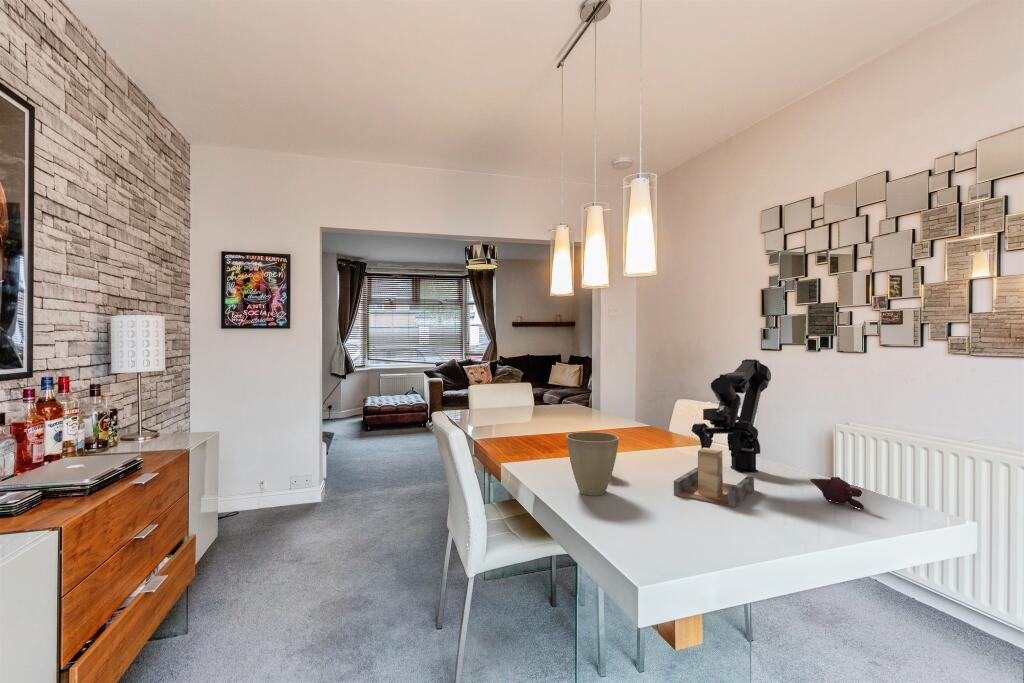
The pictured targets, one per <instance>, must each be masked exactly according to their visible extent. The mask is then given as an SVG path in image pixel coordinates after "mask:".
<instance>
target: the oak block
mask: <svg viewBox="0 0 1024 683" xmlns="http://www.w3.org/2000/svg"><path fill="white" fill-rule="evenodd" d="M697 467H698V494H702V495H707V496H712V497H718V496H720V495H721V494H722V493H723V483H724V482H723V481H724V480H723V479H724V478H723V475H724V474H723V449H718V448H711V447H710V448H701V449H698V450H697Z"/></svg>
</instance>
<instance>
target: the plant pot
mask: <svg viewBox="0 0 1024 683" xmlns="http://www.w3.org/2000/svg"><path fill="white" fill-rule="evenodd" d="M565 436H566V443H567V444H566V445H567V450H568V456H569V462H570V465H571V469H572V473H573V476H574V480H575V483H576V485H577V488H578V491H579V493H580V494H581V495H582V494H583V495H586V496H590V495H591V496H597V495H599V496H602V495H605V494H606V492H607V489H608V488H609V487H608V486H609V484H610V481H611V478H612V474H613V471H614V468H615V464H616V458H617V453H618V448H619V436H618V435H616V434H612V433H608V432H598V431H596V432H595V431H578V432H570V433H568V434H566V435H565Z"/></svg>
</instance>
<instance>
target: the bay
mask: <svg viewBox="0 0 1024 683" xmlns="http://www.w3.org/2000/svg"><path fill="white" fill-rule="evenodd" d="M753 490H754V491H755V476H754V475H749V474H747V476H745V477H744V478H743V479H742V480H741V481H739V482H738V483H737V484H732V483H727V482H723V493H722V494H721V495H720V496H718V497H712V496H707V495H702V494H698V466H697V467H695V468H693V469H692V470H690V471H688V472H686V473H685V474H683V475H681V476H679V477H677V478H676V479H675V480H673V496H677V497H681V498H686V499H690V500H697V501H701V502H704V503H705V502H706V503H710V504H715V505H719V506H725V507H730V508H734V509H735V508H736V507H737V506H739V504H741V503H742V502H743V501H744V500H745V499H747V497H748V496H749V495H750V494H752V492H754V491H753Z"/></svg>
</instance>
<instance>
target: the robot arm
mask: <svg viewBox="0 0 1024 683" xmlns="http://www.w3.org/2000/svg"><path fill="white" fill-rule="evenodd" d="M771 380H772V372H771V370H770V369H769V367H768V366H767V365H765V364H762V363H761V362H760V360H758V359H756V358H755V359H750V358H749V359H748V358H746V359H743V360H741V364H740V365H739V366H738V367H737V368H736V369H734V371H732V372H727V373H725V374H724V373H723V374H719V377H717V378H715V379H713V380H712V381H711V383H710V388H711V391H712V392H713V394H714V396H715V398H716V400H717V401H719V403H718V407H714V408H703V409H702V419H703V421H709V424H710V425H711V427H710V426H709V425H708V424H706V423H705V422H704V423H703V422H701V423H700V422H699V423H693V425H692V428H691V432H692V433H693V434H695V436H696V437H698V438H699V442H700V447H701V449H702V448H711V446H712V444H713V441H714V440H713V438H714V435H720V434H721V435H722V434H725V435H726V434H727V438H726V439H727V440H726V441H727V447H728V451H730V457H731V465H730V468H731V469H733V470H735V471H737V472H738V471H739V473H759V472H760V470H758V469H757V455H759V454H761V445H760V444H761V443H760V441H759V439H758V437H759V431H758V428H757V427H755V425H754V424H755V419H756V417H757V416H756V415H757V412H758V408H759V407H758V406H759V402H760V399H761V394H762V392H763V391H765V390H766V389H767V388H768V386H769V383H770V382H771ZM739 394H744V397H743V401H742V398H741V396H740V395H739ZM741 401H742V402H741ZM741 404H742V405H741ZM740 406H741V408H740ZM739 411H740V414H739ZM738 414H739V415H738Z"/></svg>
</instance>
